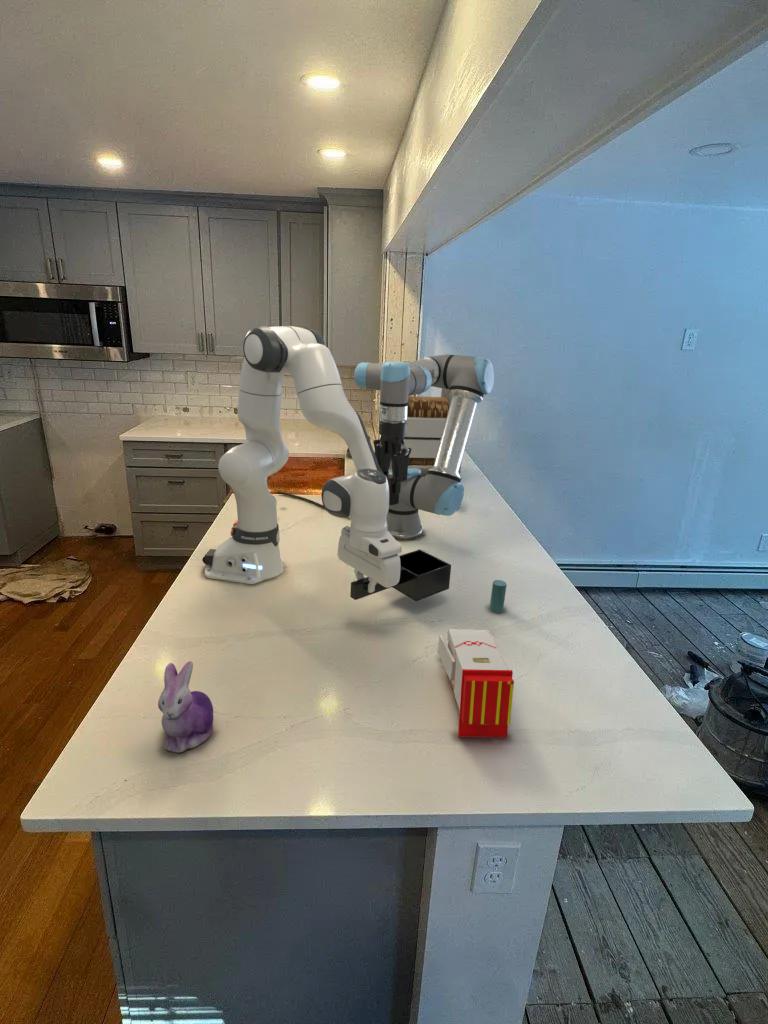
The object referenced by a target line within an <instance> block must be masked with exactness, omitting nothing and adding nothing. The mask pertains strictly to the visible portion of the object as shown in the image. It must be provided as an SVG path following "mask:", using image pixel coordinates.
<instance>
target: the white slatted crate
mask: <svg viewBox="0 0 768 1024" xmlns="http://www.w3.org/2000/svg"><path fill="white" fill-rule="evenodd" d="M440 393H441V394H440V396H418V395H417V396H416V395H411V396H408V408H407V420H406V421H405V422H406V423H407V427H406V435H405V436H404V445H405V446H406V447H407V448H411V453H410V455H409V463H408V467H409V466H411V467H415V466H416V467H417V466H418V467H433V466H434V462H435V459H436V455H437V451H438V447H439V444H440V440H441V436H442V433H443V429H444V425H445V422H446V418H447V414H448V410H449V407H450V403H451V399H452V398H451V396H450V394H449V389H443V388H441V392H440ZM462 461H463V460H462ZM462 461H461V464H460V468H459V472H458V473H459V475H460V476H461V472H462ZM391 470H392V461H390V467H389V472H390V471H391Z"/></svg>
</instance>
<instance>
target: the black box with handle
mask: <svg viewBox="0 0 768 1024" xmlns="http://www.w3.org/2000/svg"><path fill="white" fill-rule="evenodd" d="M399 557H400V563H401V566H400V580H399V582H398V583H397V584H396V585H395V586H392V587H389V588H386V587H384V586H382V585H381V584H379V583H377V584H376V585H375V591H374V592H372V593H369V592H367V591H366V585H367V584H369V583H370V581H369V577H367V576H365V577H364V578H363V579H360V580H357V579H356V580H354V581H351V582H350V592H349V594H350V595H349V596H350V598H351V599H353V600H354V601H357V600H360V599H363V598H366V597H368V596H371V595H374V594H377V593H380V592H383V591H385V590H387V589H394V590H396V591H398V592H399V593H401V594H403V595H405V596H406V597H408V598H409V599H411V600H412V601H414V602H419V601H422V600H423V599H424V600H425V599H426V598H429V597H431V596H434V595H437V594H439V593H442V592H444V591H447V590H449V589H450V582H451V572H452V564H451V563H448V562H447V561H445V560H443V559H440V558H438V557H437V556H435V555H432V554H430V553H429V552H426V551H424V550H422V549H415V550H413V551H410V552H407V553H404V554H400V555H399Z"/></svg>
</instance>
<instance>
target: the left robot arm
mask: <svg viewBox="0 0 768 1024" xmlns="http://www.w3.org/2000/svg"><path fill="white" fill-rule="evenodd" d="M242 350H243V357H244V358H243V362H242V366H241V370H240V376H239V386H238V399H237V419H238V421H239V423H241V424H242V425H243V428H244V431H245V442H243V443H241V444H237V445H236V446H233V447H231V448H230V449H229V450H228V451H226V452H225V453H224V454H223V455H222V456H221V457H220V459H219V461H218V464H217V466H218V467H217V468H218V474H219V475H220V478H221V479H222V481H223V482H224V483H226V485H228V486H229V487H230V488H231V490H232V492H233V495H234V499H235V503H236V514H237V520H235V521H234V523H233V524H232V527H231V530H230V536H231V537H229V538H228V539H226V540H225V541H223V542H222V543H221V544H220V545H218V547H217V548H209V549H208V550H207V552H205V554H204V556H203V557H202V559H201V560H202V563H203V564H204V565H205V569H204V575H205V577H206V578H208V579H214V580H220V581H221V580H222V581H227V582H234V583H242V584H247V585H255V584H258V583H260V582H262V581H265V580H270V579H274V578H276V577H278V576H279V575H281V574H282V573H283V572H284V569H285V567H284V564H283V560H282V558H281V553H280V546H279V544H280V525H279V523H278V503H277V502H278V501H277V498H276V497H275V496H274V495H273V494H272V493H271V492H270V489H269V486H268V477H270V476H272V475H274V474H276V473H278V472H279V471H280V470H282V468H283V467H285V465H286V464H287V463H288V460H289V458H290V457H289V456H290V450H289V447H288V445H287V444H286V442H285V441H284V440H283V436H282V431H281V406H282V395H283V379H284V376H285V375H286V374H287V373H288V374H289V375H291V377H292V379H293V381H294V386H295V391H296V395H297V400H298V404H299V408H300V410H301V413H302V415H303V417H304V418H305V420H306V421H308V422H309V424H311V425H313V426H315V427H317V428H319V429H323V430H325V431H329V432H332V433H334V434H336V435H338V436H339V437H341V438H342V440H344V441H345V443H346V445H347V449H348V448H349V451H350V454H351V456H352V458H351V459H352V461H353V464H354V467H355V470H356V471H355V472H354V473H351V474H344V475H340V476H336V477H333V478H330V479H328V480H326V481H325V482H324V484H323V486H322V488H321V503H322V505H323V506H324V508H325V509H324V508H323V509H324V510H325V511H326V512H327V513H328V514H330V515H331V516H333V517H337V518H343V519H349V520H350V526H348V525H346V526H343V527H342V528H341V532H340V533H341V534H340V536H339V539H338V544H337V557H338V560H339V561H341V562H342V563H344V564H346V565H348V566H349V567H350V568H352V569H354V570H353V572H354V575H355V578H356V581H357V580H360V579H363V578H365V577H369V581H370V583H369V584H367V585H366V591H367V592H369V593H372V592H374V591H375V585H376V584H377V583H379V584H381V585H382V586H384V587H386V588H388V589H390V588H389V587H391V588H392V586H395V585H396V584H397V583H398V582H399V580H400V566H401V563H400V557H399V556H400V555H399V554H400V553H401V552H402V545H401V544H400V542H399V541H398V540H395V539H394V537H393V536H392V535H391V534H390V532H389V531H387V527H388V525H387V520H386V517H387V513H388V510H389V484H388V480H387V477H386V476H385V475H384V474H383V472H382V470H381V468H380V466H379V464H378V461H377V459H376V456H375V450H374V448H373V445H372V443H371V439H370V440H369V437H370V436H369V434H368V432H367V429H366V426H365V424H364V421H363V420H362V417H361V416H360V414H359V412H358V411H357V410H356V409H354V408H353V406H352V405H351V404H350V402H349V400H348V398H347V396H346V393H345V390H344V387H343V384H342V383H343V382H342V380H341V376H340V373H339V369H338V367H337V364H336V362H335V359H334V357H333V355H332V353H331V350H330V349H329V347H327V346H326V343H325V340H324V337H323V336H322V335H321V334H320V333H319V332H318V331H316V330H314V329H312V328H308V327H299V326H295V325H294V326H293V325H279V326H275V325H274V326H267V325H261V326H257V327H254V328H251V329H250V330H249V331H247V333H246V334H245V337H244V339H243V345H242ZM368 436H369V437H368Z"/></svg>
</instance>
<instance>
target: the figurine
mask: <svg viewBox="0 0 768 1024" xmlns="http://www.w3.org/2000/svg"><path fill="white" fill-rule="evenodd" d="M193 669H194V662H193V661H191V660H190V661H188V662H186V663H185V664H184V665H183V667H182V668H181V669H180V671H179V672H178V671H177V668H176V666H175V664H174V663H173V662H169V663H168V664H167V665H166V666H165V670H164V672H163V684H164V687H163V690H162V691H161V693H160V695H159V698H158V702H157V706H158V709H159V711H160V712H161V713H162V717H161V726H162V729H163V731H164V734H165V740H164V749H165V750H166V751H169V752H172V753H183V752H184V751H186V750H188V749H194V748H196V747H198V746H200V745H201V744H203V743H204V742H205V741H206V740H207V739H208V738H209V737H211V736H212V733H213V725H214V724H213V723H214V706H213V703H212V701H211V698H210V697H209V696H208V695H207V694H206V693H205V692H203V691H200V690H192V691H191V690H190V688H189V684H190V681H191V679H192V674H193Z"/></svg>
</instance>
